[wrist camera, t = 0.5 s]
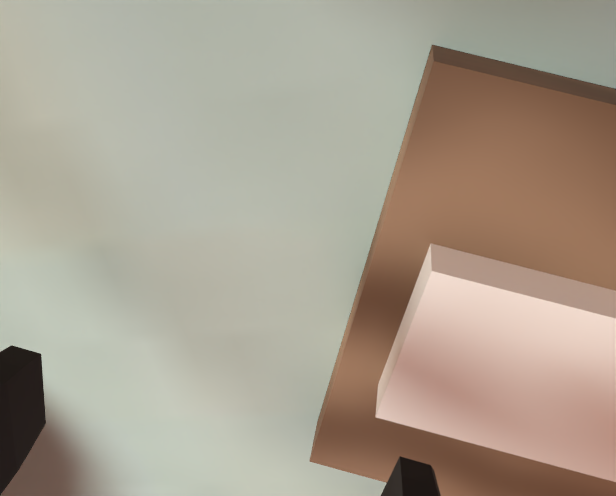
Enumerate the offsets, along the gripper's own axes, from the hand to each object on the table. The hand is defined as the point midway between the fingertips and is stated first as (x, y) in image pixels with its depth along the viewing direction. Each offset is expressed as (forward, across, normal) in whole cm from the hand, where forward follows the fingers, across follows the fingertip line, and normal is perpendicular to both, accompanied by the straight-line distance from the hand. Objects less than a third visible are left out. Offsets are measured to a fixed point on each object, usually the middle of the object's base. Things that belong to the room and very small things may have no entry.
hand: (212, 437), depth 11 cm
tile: (+8, -9, +2) cm, 12 cm away
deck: (+10, -9, +2) cm, 13 cm away
